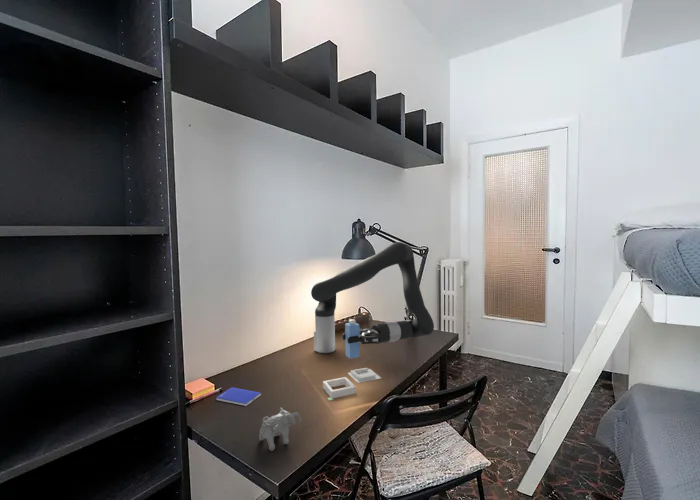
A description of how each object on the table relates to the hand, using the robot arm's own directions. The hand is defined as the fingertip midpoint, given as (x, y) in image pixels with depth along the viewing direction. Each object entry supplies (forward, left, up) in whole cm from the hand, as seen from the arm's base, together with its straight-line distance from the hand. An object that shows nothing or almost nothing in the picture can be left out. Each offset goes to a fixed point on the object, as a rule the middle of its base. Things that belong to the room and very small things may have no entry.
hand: (345, 338), depth 128 cm
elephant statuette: (-4, -36, -18) cm, 41 cm away
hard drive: (-32, -21, -19) cm, 42 cm away
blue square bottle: (+2, +2, -7) cm, 8 cm away
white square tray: (+4, +10, -18) cm, 21 cm away
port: (0, -5, -18) cm, 19 cm away
